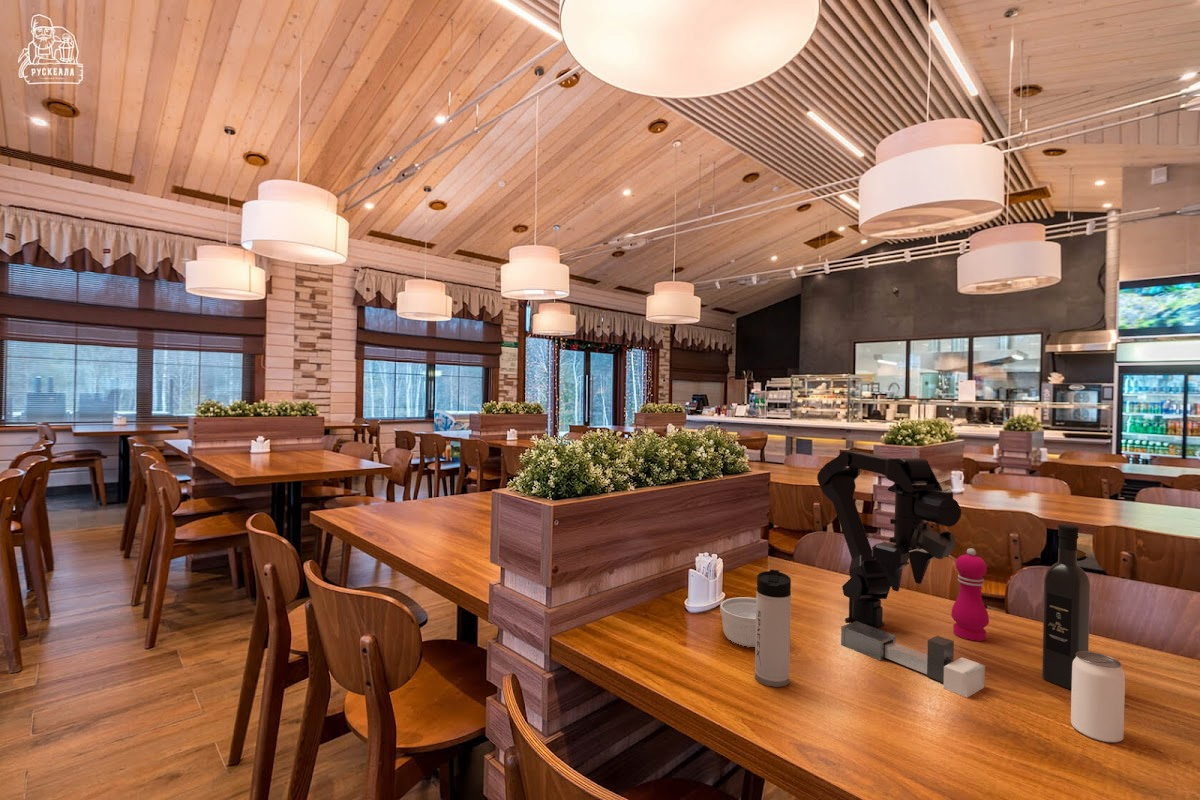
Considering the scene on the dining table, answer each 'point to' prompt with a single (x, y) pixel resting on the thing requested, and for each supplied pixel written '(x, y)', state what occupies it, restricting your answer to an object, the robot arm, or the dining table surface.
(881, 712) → the dining table surface
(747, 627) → the ramekin
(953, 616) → the pepper mill
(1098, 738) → the can
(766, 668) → the travel mug
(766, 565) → the dining table surface
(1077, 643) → the wine bottle
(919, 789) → the dining table surface
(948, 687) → the grey rectangular block
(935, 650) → the grey l-shaped block
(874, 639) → the sleeve
